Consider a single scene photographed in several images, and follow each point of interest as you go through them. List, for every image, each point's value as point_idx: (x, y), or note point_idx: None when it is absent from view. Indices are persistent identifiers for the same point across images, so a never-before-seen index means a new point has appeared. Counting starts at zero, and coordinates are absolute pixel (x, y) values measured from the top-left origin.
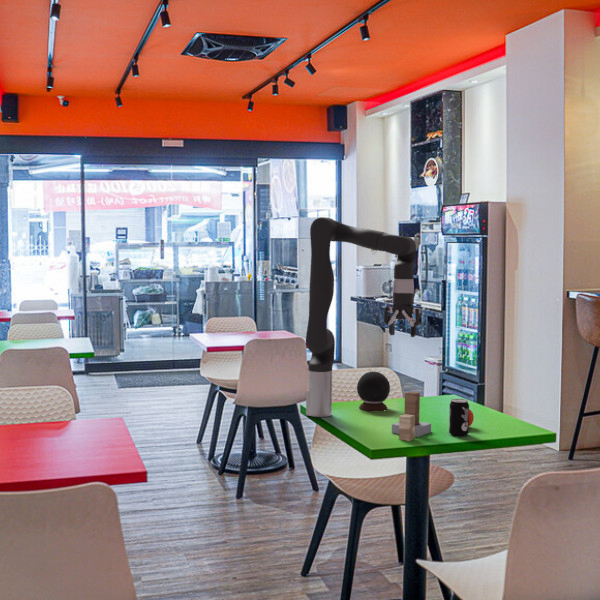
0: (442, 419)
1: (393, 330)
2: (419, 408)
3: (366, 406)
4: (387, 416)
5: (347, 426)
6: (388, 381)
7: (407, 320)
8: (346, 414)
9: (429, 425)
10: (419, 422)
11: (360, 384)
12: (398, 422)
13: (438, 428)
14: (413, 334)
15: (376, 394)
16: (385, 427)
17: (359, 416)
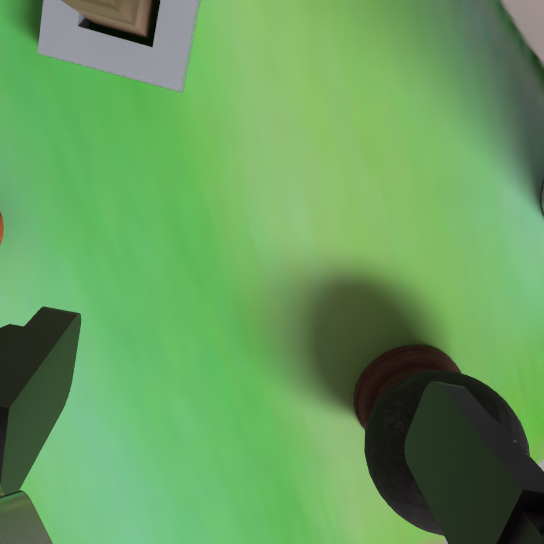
0: (97, 330)
1: (442, 471)
2: (65, 3)
3: (431, 360)
4: (320, 286)
5: (432, 8)
6: (386, 491)
7: (30, 509)
8: (485, 249)
9: (42, 34)
10: (98, 52)
11: (507, 408)
12: (191, 3)
13: (49, 150)
14: (13, 332)
15: (408, 383)
16: (269, 65)
17: (427, 236)
